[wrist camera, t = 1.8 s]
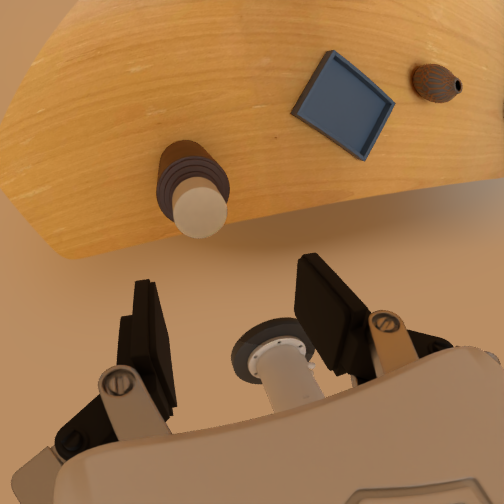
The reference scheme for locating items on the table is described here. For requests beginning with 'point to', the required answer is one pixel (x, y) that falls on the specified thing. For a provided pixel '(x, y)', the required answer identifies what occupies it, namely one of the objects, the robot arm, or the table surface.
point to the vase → (436, 83)
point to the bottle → (186, 172)
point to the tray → (344, 105)
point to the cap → (198, 207)
